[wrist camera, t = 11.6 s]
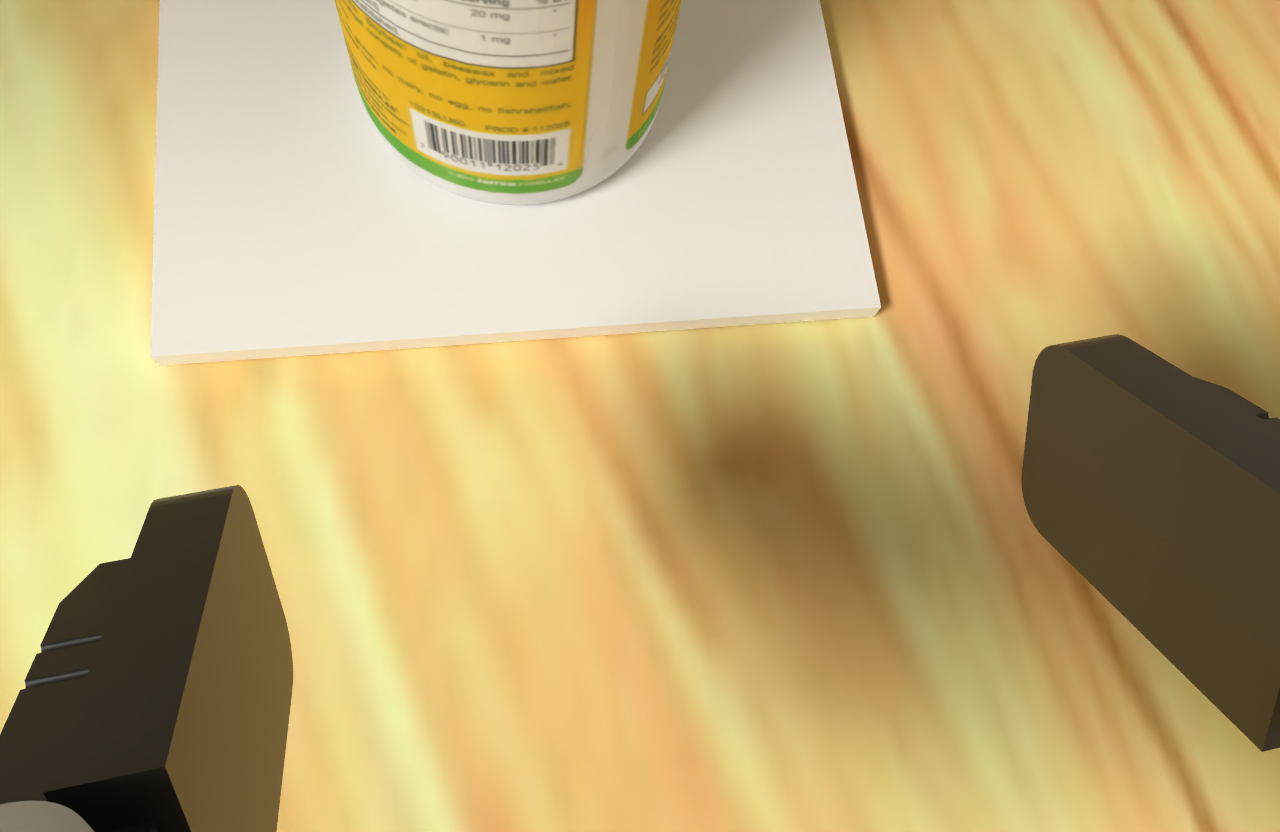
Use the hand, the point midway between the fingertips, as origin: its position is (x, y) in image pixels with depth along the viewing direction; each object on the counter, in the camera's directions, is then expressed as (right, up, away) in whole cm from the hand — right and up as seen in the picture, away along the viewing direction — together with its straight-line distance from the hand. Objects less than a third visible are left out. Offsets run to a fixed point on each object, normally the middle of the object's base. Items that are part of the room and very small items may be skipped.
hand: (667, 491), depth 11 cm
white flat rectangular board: (-3, +7, +9) cm, 11 cm away
